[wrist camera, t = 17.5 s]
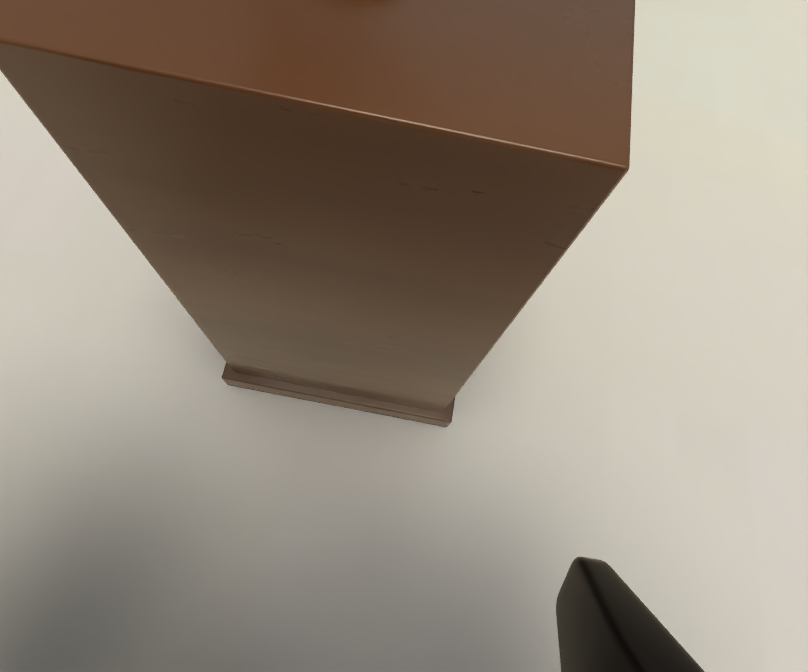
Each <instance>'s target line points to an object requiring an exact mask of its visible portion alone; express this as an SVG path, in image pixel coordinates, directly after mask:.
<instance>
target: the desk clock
mask: <svg viewBox="0 0 808 672" xmlns="http://www.w3.org/2000/svg"><path fill="white" fill-rule="evenodd" d="M634 16H635V0H0V70H1V72H2V73H3V74H4V76H5V77H6V78H7V79H8V81H9V82H10V83H11V85H12V86H13V87H14V88H15V90H16V91H17V92H18V94H19V95H20V96H21V97H22V99H23V100H24V101H25V103H26V104H27V105H28V107H29V108H30V109H31V110H32V112H33V113H34V114H35V116H36V117H37V118H38V119H39V121H40V122H41V123H42V125H43V126H44V127H45V128H46V130H47V131H48V132H49V134H50V135H51V136H52V137H53V139H54V140H55V141H56V143H57V144H58V145H59V147H60V148H61V149H62V150H63V152H64V153H65V154H66V156H67V157H68V158H69V159H70V161H71V162H72V163H73V165H74V166H75V167H76V168H77V170H78V171H79V172H80V174H81V175H82V176H83V178H84V179H85V180H86V181H87V183H88V184H89V185H90V187H91V188H92V189H93V190H94V192H95V193H96V194H97V196H98V197H99V198H100V199H101V201H102V202H103V203H104V205H105V206H106V207H107V208H108V210H109V211H110V212H111V214H112V215H113V216H114V218H115V219H116V220H117V221H118V223H119V224H120V225H121V227H122V228H123V229H124V230H125V232H126V233H127V234H128V236H129V237H130V238H131V239H132V241H133V242H134V243H135V245H136V246H137V247H138V248H139V250H140V251H141V252H142V254H143V255H144V256H145V258H146V259H147V260H148V261H149V263H150V264H151V265H152V267H153V268H154V269H155V270H156V272H157V273H158V274H159V276H160V277H161V278H162V279H163V281H164V282H165V283H166V285H167V286H168V287H169V288H170V290H171V291H172V292H173V294H174V295H175V296H176V298H177V299H178V300H179V301H180V303H181V304H182V305H183V307H184V308H185V309H186V310H187V312H188V313H189V314H190V316H191V317H192V318H193V319H194V321H195V322H196V323H197V325H198V326H199V327H200V328H201V330H202V331H203V332H204V334H205V335H206V336H207V338H208V339H209V340H210V341H211V343H212V344H213V345H214V347H215V348H216V349H217V350H218V352H219V353H220V354H221V356H222V357H223V358H224V359H225V361H226V365H225V368H224V372H223V375H222V379H223V380H224V381H225V382H226V383H227V384H228V385H233V386H238V387H243V388H248V389H253V390H258V391H264V392H269V393H274V394H279V395H284V396H289V397H295V398H300V399H305V400H310V401H315V402H320V403H326V404H331V405H336V406H341V407H346V408H352V409H357V410H362V411H367V412H372V413H377V414H383V415H388V416H393V417H398V418H403V419H408V420H414V421H419V422H424V423H429V424H434V425H439V426H445V427H447V426H448V425H449V424H450V423H451V421H452V414H453V407H454V400H455V395H456V394H457V393H458V391H459V390H460V389H461V387H462V386H463V385H464V384H465V382H466V381H467V380H468V378H469V377H470V376H471V374H472V373H473V372H474V371H475V369H476V368H477V367H478V365H479V364H480V363H481V361H482V360H483V359H484V357H485V356H486V355H487V354H488V352H489V351H490V350H491V348H492V347H493V346H494V344H495V343H496V342H497V341H498V339H499V338H500V337H501V335H502V334H503V333H504V331H505V330H506V329H507V328H508V326H509V325H510V324H511V322H512V321H513V320H514V318H515V317H516V316H517V315H518V313H519V312H520V311H521V309H522V308H523V307H524V305H525V304H526V303H527V301H528V300H529V299H530V298H531V296H532V295H533V294H534V292H535V291H536V290H537V288H538V287H539V286H540V285H541V283H542V282H543V281H544V279H545V278H546V277H547V275H548V274H549V273H550V272H551V270H552V269H553V268H554V266H555V265H556V264H557V262H558V261H559V260H560V259H561V257H562V256H563V255H564V253H565V252H566V251H567V249H568V248H569V247H570V245H571V244H572V243H573V242H574V240H575V239H576V238H577V236H578V235H579V234H580V232H581V231H582V230H583V229H584V227H585V226H586V225H587V223H588V222H589V221H590V219H591V218H592V217H593V216H594V214H595V213H596V212H597V210H598V209H599V208H600V206H601V205H602V204H603V203H604V201H605V200H606V199H607V197H608V196H609V195H610V193H611V192H612V191H613V189H614V188H615V187H616V186H617V184H618V183H619V182H620V180H621V179H622V178H623V176H624V175H625V174H626V173H627V171H628V170H629V160H630V131H631V102H632V73H633V45H634Z"/></svg>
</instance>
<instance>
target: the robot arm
mask: <svg viewBox="0 0 808 672" xmlns="http://www.w3.org/2000/svg"><path fill="white" fill-rule="evenodd" d="M556 616H557V627H558V639H559V650H560V662H561V672H704V670H703V669H702V668H701V667H700V666H699V665H698V664H697V663H696V662H695V660H694V659H693V658H692V657H691V656H690V655H689V654H688V653H687V652H686V650H685V649H684V648H683V647H682V646H681V645H680V644H679V643H678V641H677V640H676V639H675V638H674V637H673V636H672V635H671V634H670V633H669V631H668V630H667V629H666V628H665V627H664V626H663V625H662V624H661V623H660V621H659V620H658V619H657V618H656V617H655V616H654V615H653V614H652V613H651V611H650V610H649V609H648V608H647V607H646V606H645V605H644V604H643V602H642V601H641V600H640V599H639V598H638V597H637V596H636V595H635V594H634V592H633V591H632V590H631V589H630V588H629V587H628V586H627V585H626V584H625V582H624V581H623V580H622V579H621V578H620V577H619V576H618V575H617V573H616V572H615V571H614V570H613V569H612V568H611V567H610V566H609V565H608V564H607V563H606V562H604V561H601V560H596V559H591V558H585V557H577V558H576V559H575V560H574V561H573V562H572V564H571V566H570V569H569V571H568V573H567V575H566V578H565V580H564V582H563V585H562V587H561V589H560V591H559V594H558V597H557V603H556Z"/></svg>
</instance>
